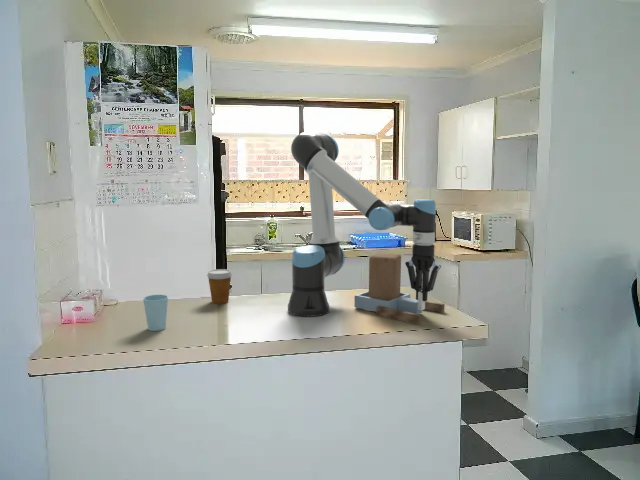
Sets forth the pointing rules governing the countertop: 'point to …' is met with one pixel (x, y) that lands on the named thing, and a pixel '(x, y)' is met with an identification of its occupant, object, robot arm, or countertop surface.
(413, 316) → the rails
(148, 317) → the cup
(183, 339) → the countertop surface
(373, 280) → the wooden block
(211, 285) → the disposable coffee cup
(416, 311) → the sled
